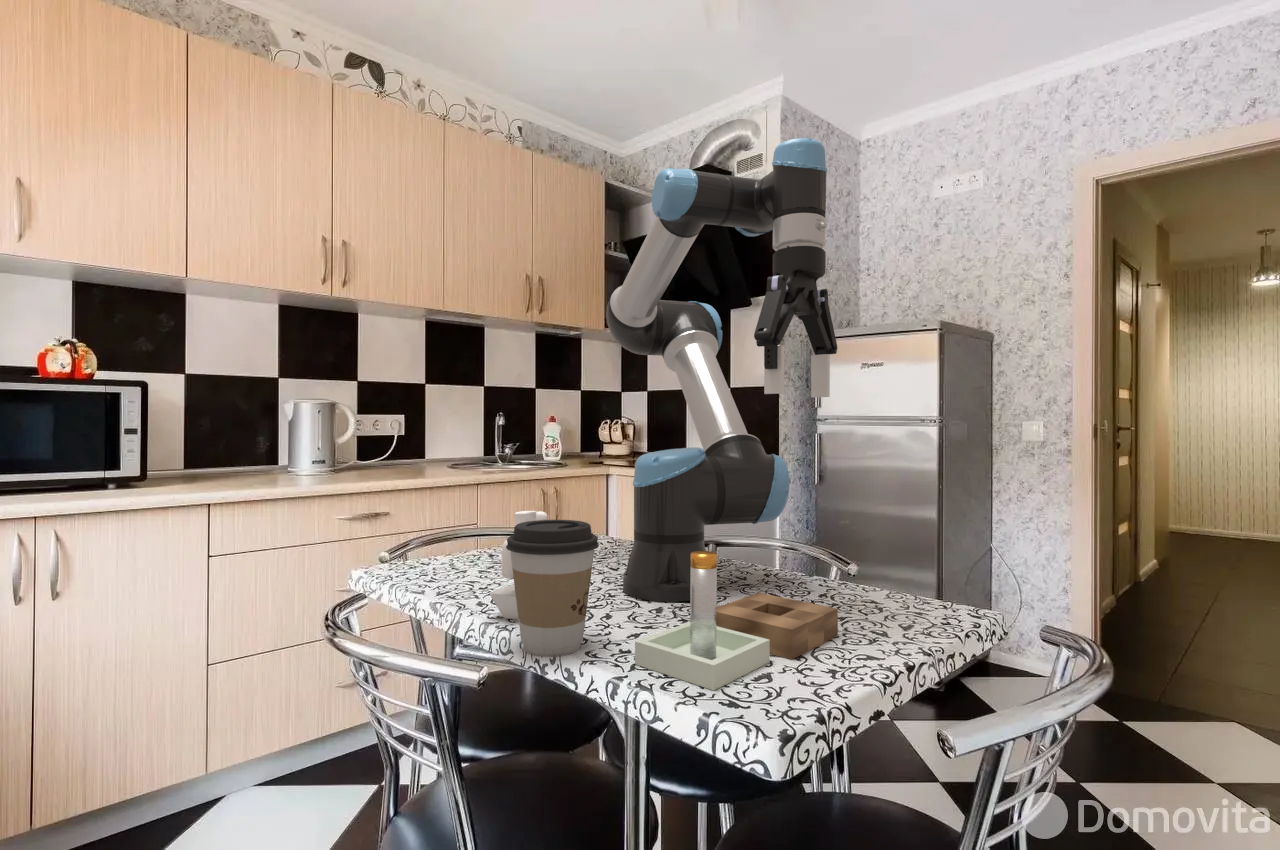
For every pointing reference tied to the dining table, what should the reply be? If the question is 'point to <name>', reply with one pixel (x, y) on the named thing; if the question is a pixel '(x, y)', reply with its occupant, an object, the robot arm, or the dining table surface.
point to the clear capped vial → (703, 604)
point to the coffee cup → (552, 583)
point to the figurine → (506, 595)
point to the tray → (675, 660)
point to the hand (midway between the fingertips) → (798, 395)
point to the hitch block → (780, 622)
